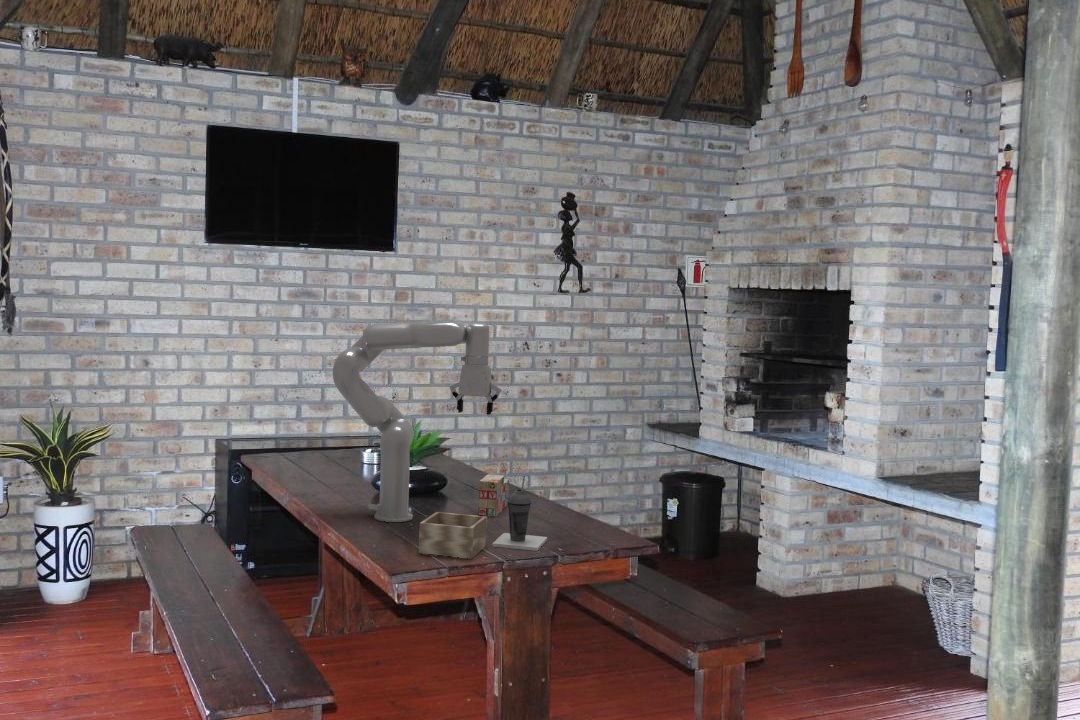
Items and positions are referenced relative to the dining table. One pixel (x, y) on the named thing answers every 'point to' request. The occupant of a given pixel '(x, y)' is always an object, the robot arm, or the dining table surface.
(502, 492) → the stack of blocks
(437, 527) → the crate
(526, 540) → the tile
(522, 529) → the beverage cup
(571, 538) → the dining table surface
